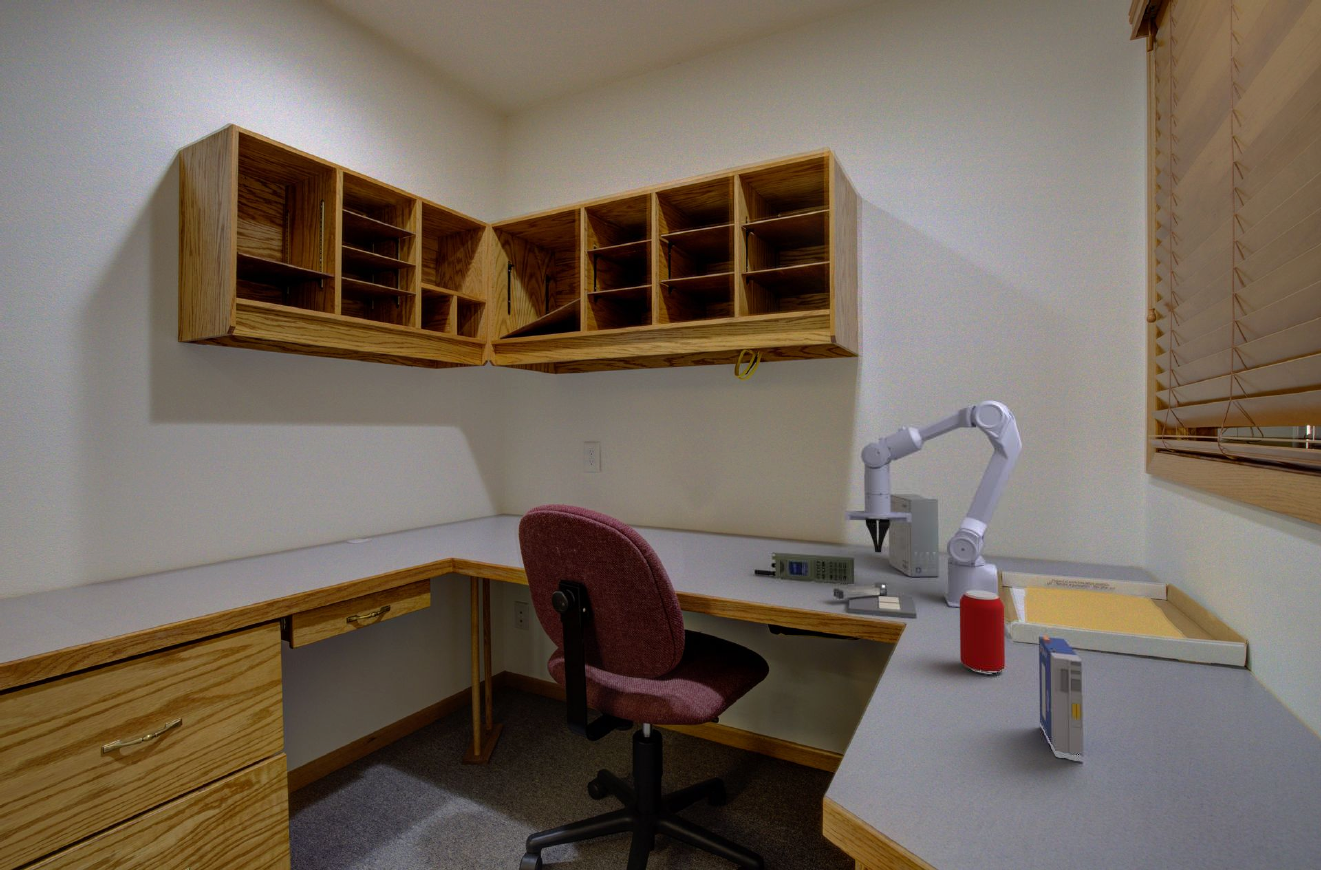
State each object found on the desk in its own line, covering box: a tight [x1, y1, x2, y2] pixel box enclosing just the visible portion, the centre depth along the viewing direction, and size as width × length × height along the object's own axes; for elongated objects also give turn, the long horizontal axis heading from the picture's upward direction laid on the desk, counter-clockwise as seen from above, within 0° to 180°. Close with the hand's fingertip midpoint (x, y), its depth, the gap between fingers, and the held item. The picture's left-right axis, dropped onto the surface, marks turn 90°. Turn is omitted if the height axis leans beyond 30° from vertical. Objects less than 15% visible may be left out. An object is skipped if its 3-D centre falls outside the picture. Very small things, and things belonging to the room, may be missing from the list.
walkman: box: [1038, 636, 1084, 758], centre depth 72 cm, size 8×3×12 cm, turn 159°
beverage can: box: [959, 590, 1006, 674], centre depth 95 cm, size 6×6×12 cm
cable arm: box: [833, 581, 888, 600], centre depth 132 cm, size 3×12×2 cm, turn 104°
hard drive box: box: [888, 493, 940, 578], centre depth 160 cm, size 16×8×20 cm, turn 179°
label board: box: [848, 594, 918, 619], centre depth 128 cm, size 13×13×1 cm
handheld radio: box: [754, 552, 855, 585], centre depth 152 cm, size 7×3×25 cm
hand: (878, 551), depth 140 cm, fingers closed
